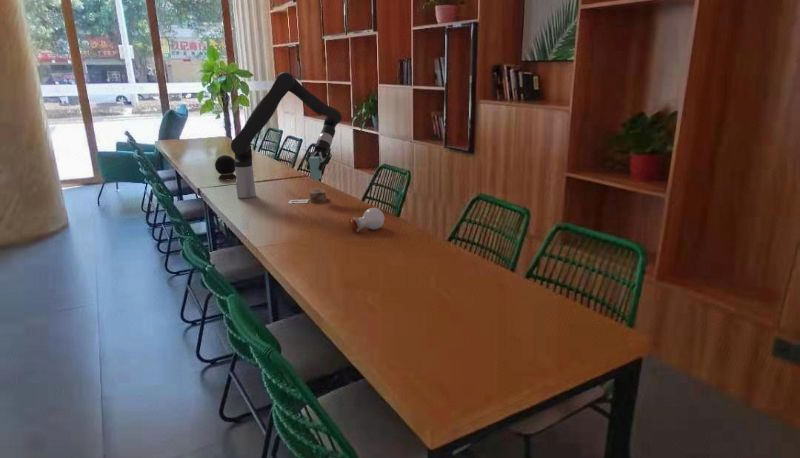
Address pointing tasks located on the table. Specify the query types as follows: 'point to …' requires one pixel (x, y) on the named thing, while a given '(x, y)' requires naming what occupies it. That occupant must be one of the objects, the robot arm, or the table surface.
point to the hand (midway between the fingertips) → (313, 169)
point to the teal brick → (315, 167)
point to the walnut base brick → (317, 195)
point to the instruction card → (298, 201)
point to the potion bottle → (368, 220)
